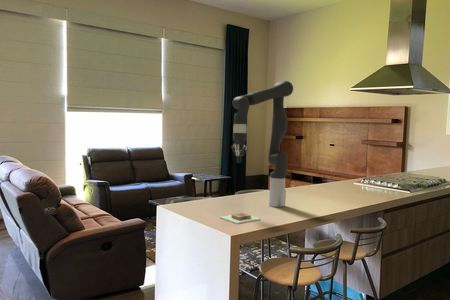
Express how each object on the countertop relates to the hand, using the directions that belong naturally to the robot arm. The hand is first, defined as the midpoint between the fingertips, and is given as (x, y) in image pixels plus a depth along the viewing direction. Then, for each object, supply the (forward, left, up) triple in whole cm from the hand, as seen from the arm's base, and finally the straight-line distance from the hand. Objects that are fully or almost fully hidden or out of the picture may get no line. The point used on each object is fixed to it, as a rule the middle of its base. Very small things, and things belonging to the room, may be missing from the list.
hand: (238, 162), depth 218 cm
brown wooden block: (+13, +16, -26) cm, 33 cm away
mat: (+13, +18, -27) cm, 35 cm away
